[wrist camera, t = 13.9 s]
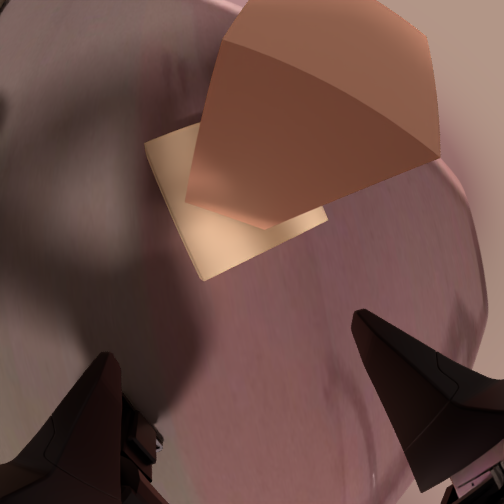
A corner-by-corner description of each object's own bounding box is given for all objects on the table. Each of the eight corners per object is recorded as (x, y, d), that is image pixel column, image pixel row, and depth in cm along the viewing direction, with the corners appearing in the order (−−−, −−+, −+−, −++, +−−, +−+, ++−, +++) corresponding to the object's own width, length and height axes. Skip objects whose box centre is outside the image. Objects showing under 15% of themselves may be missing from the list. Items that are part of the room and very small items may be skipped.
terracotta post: (264, 229, 19) (440, 157, 6) (184, 202, 18) (222, 39, 4) (285, 158, 20) (426, 36, 6) (212, 130, 18) (284, -44, 5)
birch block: (199, 277, 21) (204, 281, 18) (146, 157, 20) (143, 143, 17) (309, 224, 24) (328, 220, 21) (260, 117, 23) (272, 101, 20)
